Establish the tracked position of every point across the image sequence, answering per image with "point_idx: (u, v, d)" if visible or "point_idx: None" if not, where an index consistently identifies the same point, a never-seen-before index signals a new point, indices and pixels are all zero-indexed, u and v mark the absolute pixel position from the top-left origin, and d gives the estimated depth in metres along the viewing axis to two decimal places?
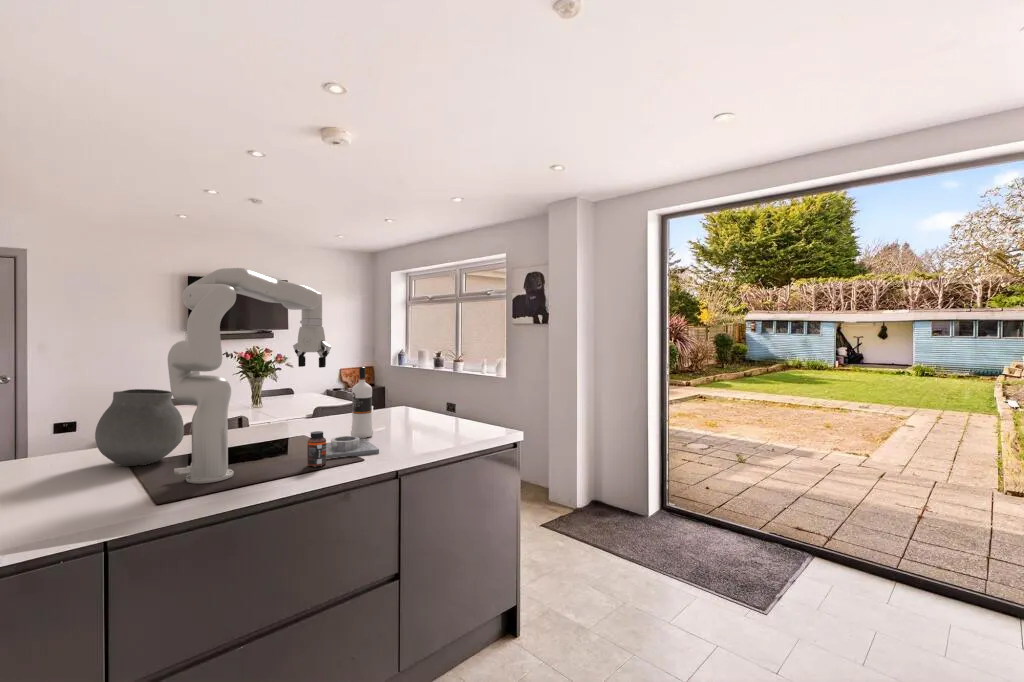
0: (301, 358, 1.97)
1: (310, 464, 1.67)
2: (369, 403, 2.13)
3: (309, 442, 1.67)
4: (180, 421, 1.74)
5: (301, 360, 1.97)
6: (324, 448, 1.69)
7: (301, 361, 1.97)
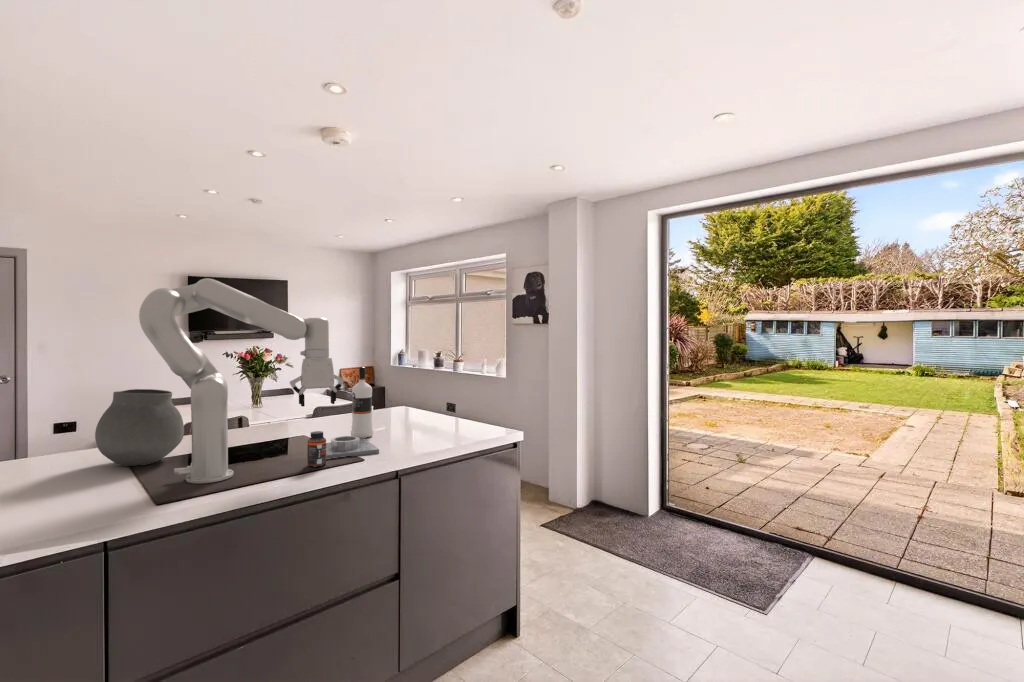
0: None
1: (310, 464, 1.67)
2: (369, 403, 2.13)
3: (309, 442, 1.67)
4: (180, 421, 1.74)
5: None
6: (324, 448, 1.69)
7: None
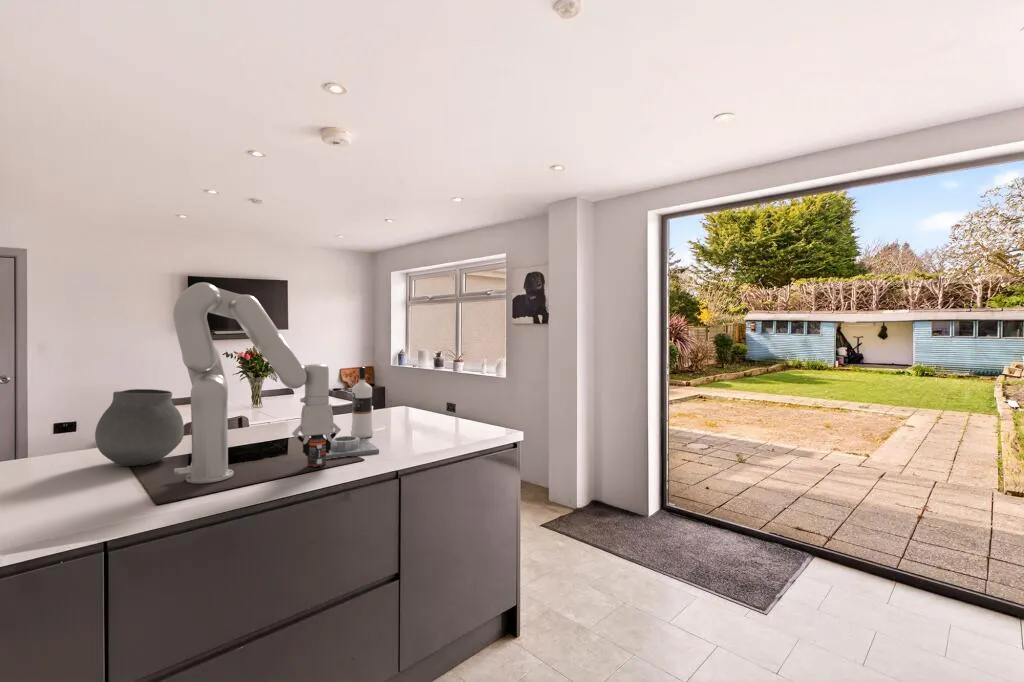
0: None
1: (310, 464, 1.67)
2: (369, 403, 2.13)
3: (309, 442, 1.67)
4: (180, 421, 1.74)
5: None
6: (324, 448, 1.69)
7: None
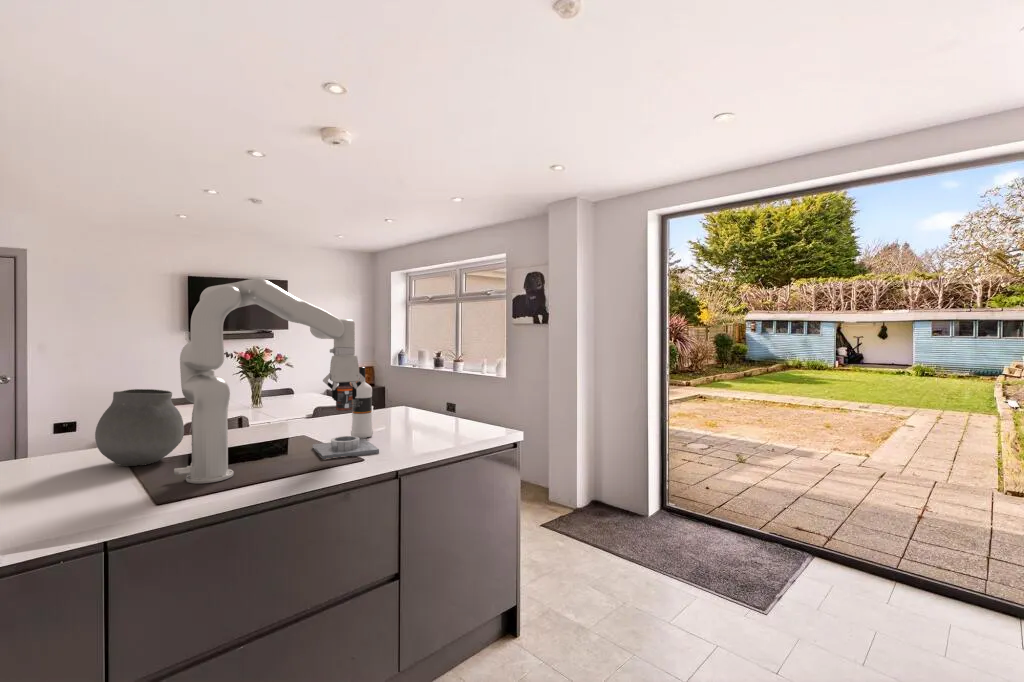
0: (336, 391, 1.87)
1: (338, 408, 1.86)
2: (369, 403, 2.13)
3: (337, 388, 1.86)
4: (180, 421, 1.74)
5: None
6: (351, 394, 1.88)
7: None
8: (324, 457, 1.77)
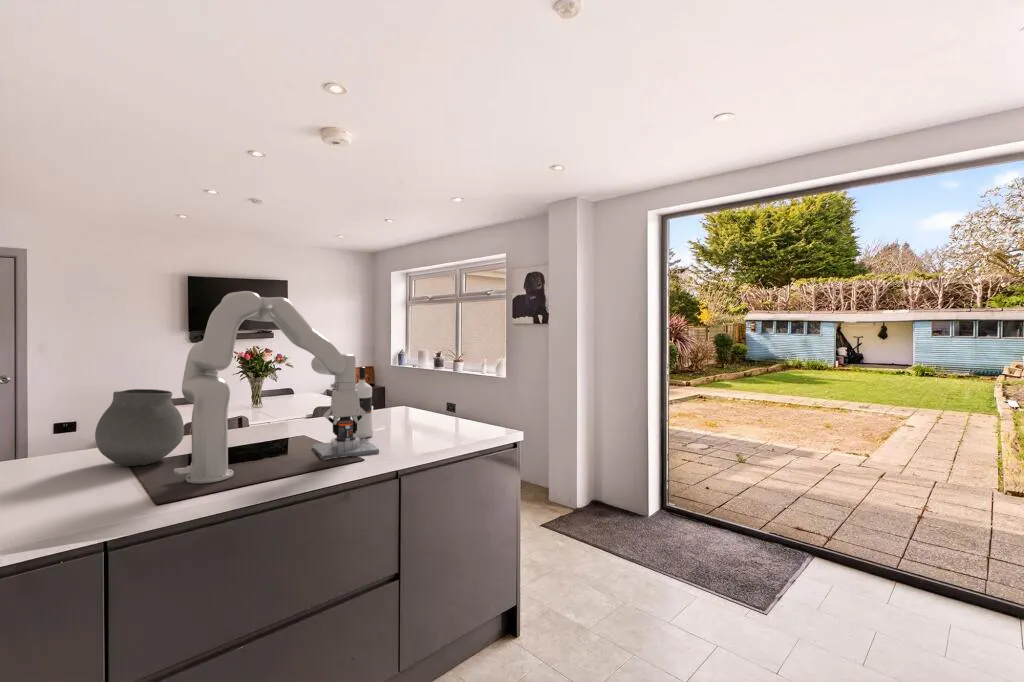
0: None
1: None
2: (369, 403, 2.13)
3: (338, 423, 1.87)
4: (180, 421, 1.74)
5: None
6: (351, 428, 1.89)
7: None
8: (324, 457, 1.77)
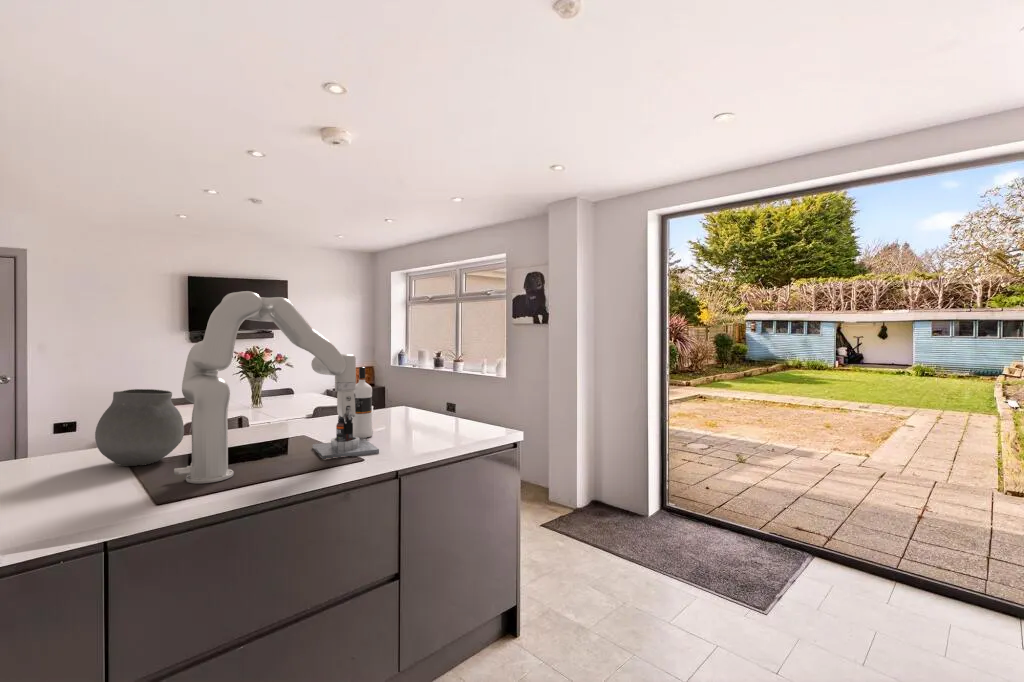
0: None
1: None
2: (369, 403, 2.13)
3: None
4: (180, 421, 1.74)
5: None
6: None
7: None
8: (324, 457, 1.77)
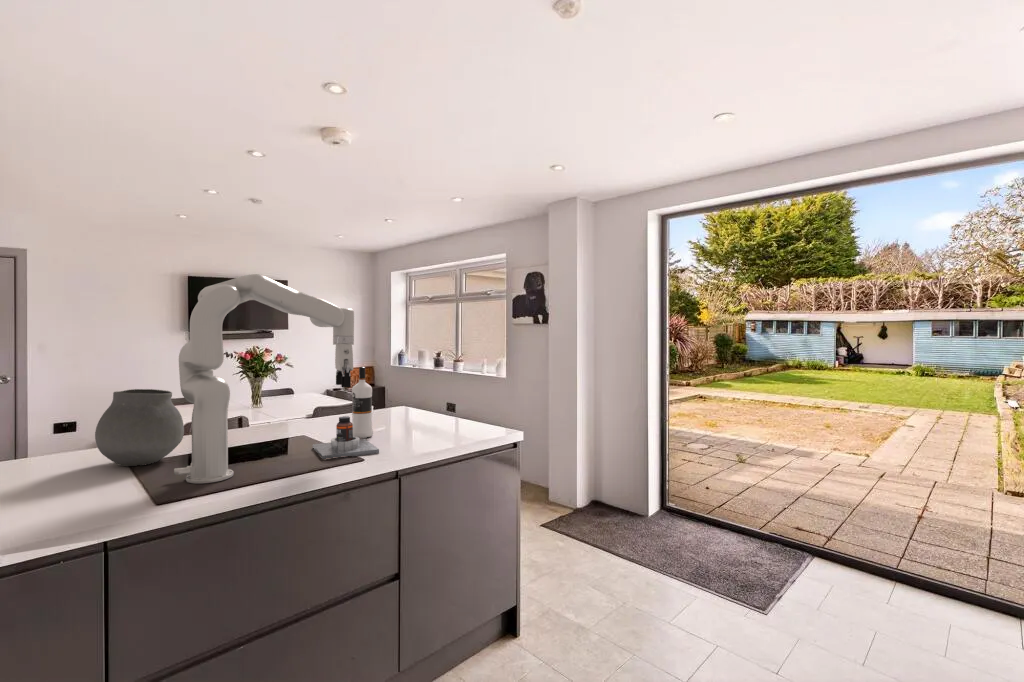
0: None
1: None
2: (369, 403, 2.13)
3: (349, 425, 1.88)
4: (180, 421, 1.74)
5: None
6: None
7: None
8: (324, 457, 1.77)
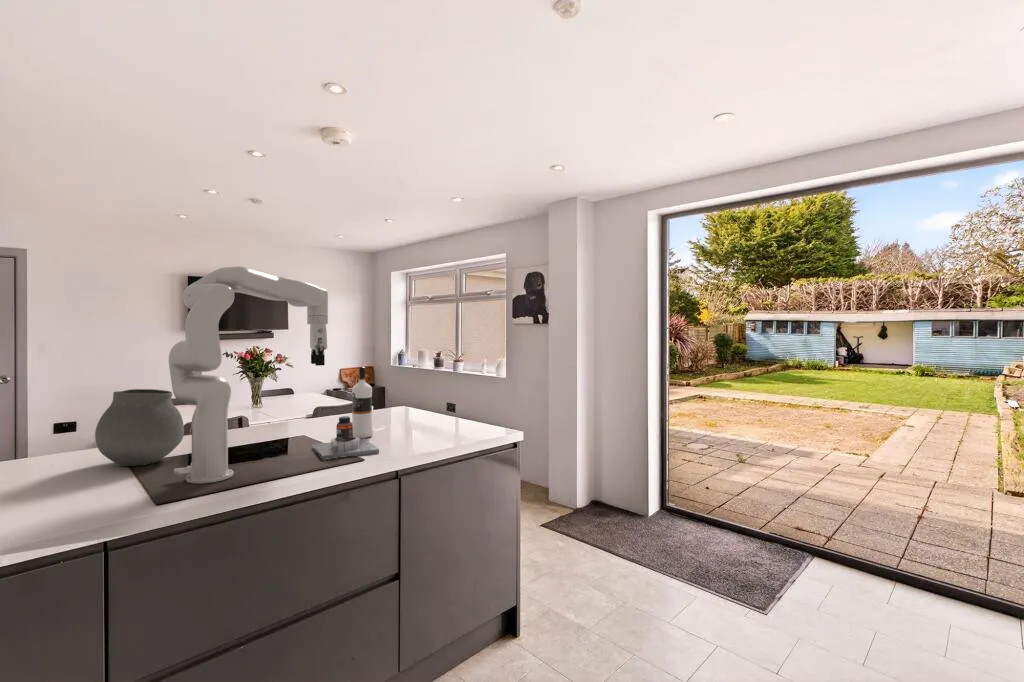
0: None
1: None
2: (369, 403, 2.13)
3: (349, 425, 1.88)
4: (180, 421, 1.74)
5: None
6: None
7: None
8: (324, 457, 1.77)
